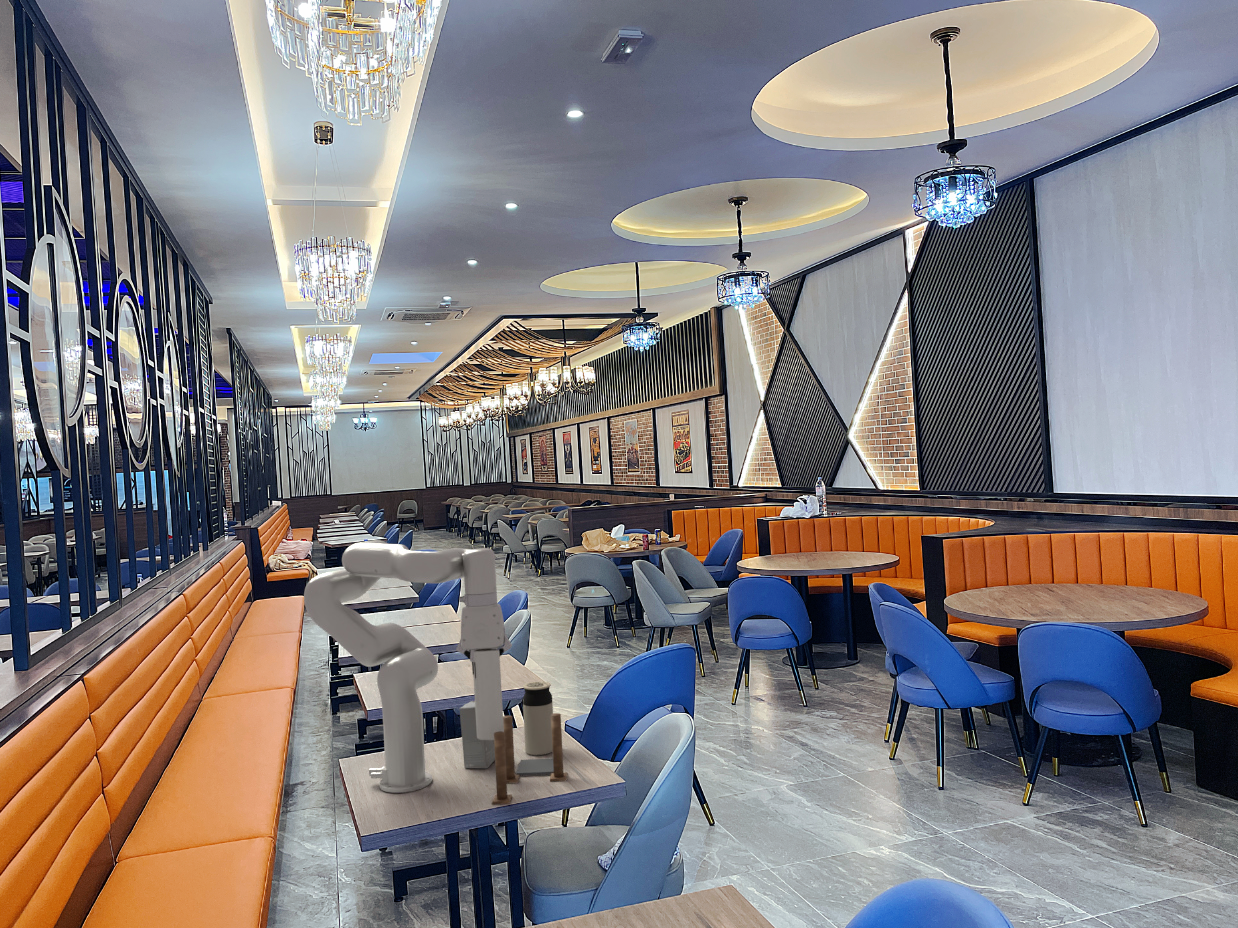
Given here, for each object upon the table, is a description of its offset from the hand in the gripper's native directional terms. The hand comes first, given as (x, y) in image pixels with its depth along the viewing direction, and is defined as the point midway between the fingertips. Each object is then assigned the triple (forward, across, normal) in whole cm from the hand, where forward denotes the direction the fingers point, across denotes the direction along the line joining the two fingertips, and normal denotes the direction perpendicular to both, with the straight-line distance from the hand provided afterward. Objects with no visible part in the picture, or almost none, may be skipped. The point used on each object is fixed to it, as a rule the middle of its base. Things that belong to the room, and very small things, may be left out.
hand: (485, 676), depth 204 cm
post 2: (+27, +3, +7) cm, 28 cm away
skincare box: (+27, -7, +20) cm, 35 cm away
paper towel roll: (+15, 0, 0) cm, 15 cm away
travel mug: (+28, +8, +28) cm, 40 cm away
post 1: (+27, +3, -6) cm, 28 cm away
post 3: (+28, +15, +7) cm, 32 cm away
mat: (+27, +9, +14) cm, 32 cm away
